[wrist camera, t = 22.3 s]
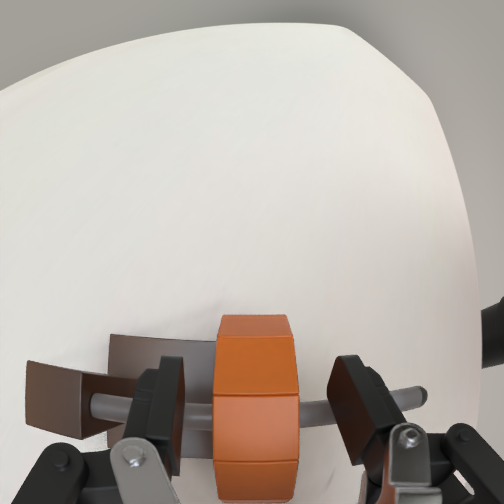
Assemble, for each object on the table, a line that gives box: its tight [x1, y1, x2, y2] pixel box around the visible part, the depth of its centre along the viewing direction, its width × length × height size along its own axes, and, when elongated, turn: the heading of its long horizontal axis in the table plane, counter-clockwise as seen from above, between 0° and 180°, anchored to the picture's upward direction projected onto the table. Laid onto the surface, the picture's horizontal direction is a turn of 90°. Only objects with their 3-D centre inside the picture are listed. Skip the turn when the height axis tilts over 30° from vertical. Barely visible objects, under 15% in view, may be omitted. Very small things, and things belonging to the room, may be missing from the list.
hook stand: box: [25, 334, 428, 459], centre depth 17 cm, size 20×10×14 cm, turn 90°
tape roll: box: [212, 315, 299, 504], centre depth 14 cm, size 3×10×10 cm, turn 0°
